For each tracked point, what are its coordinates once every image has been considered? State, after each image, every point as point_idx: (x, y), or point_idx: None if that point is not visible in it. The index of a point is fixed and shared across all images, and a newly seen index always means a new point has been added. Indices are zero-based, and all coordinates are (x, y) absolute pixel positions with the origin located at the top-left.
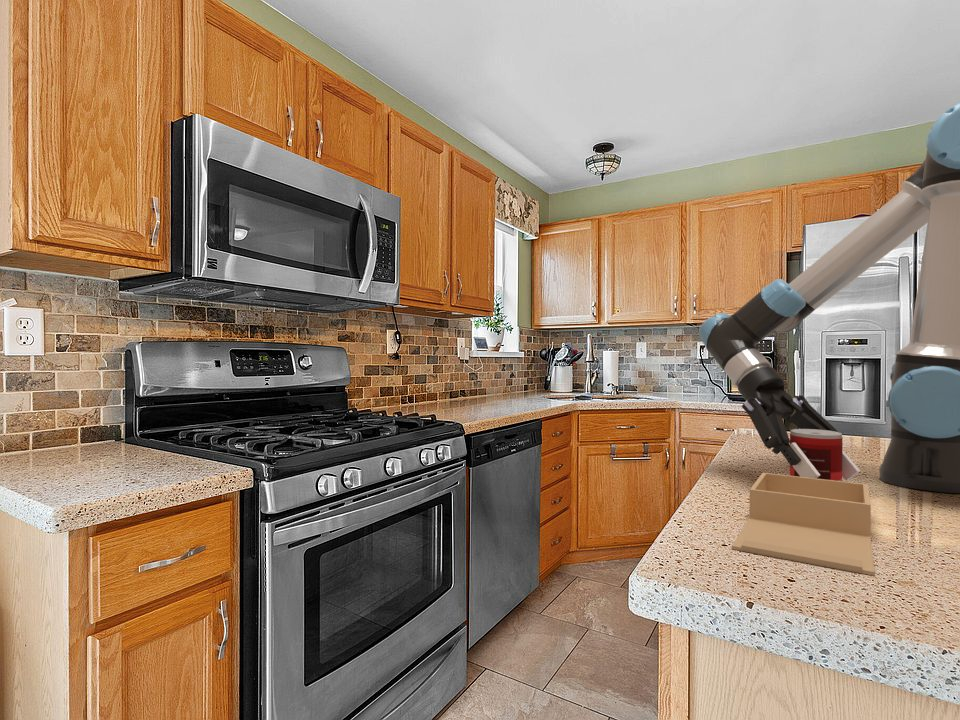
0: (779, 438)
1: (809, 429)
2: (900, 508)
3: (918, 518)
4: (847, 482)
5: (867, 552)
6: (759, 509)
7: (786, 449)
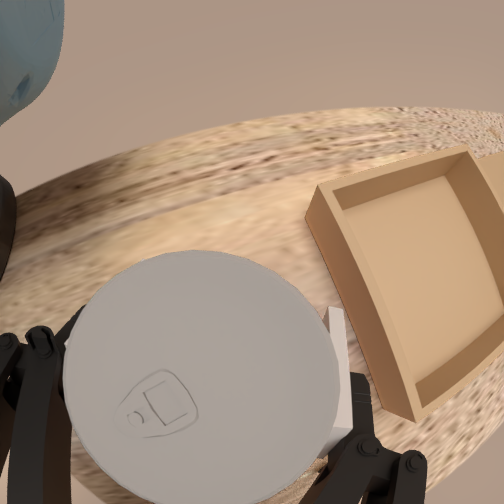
0: (401, 458)
1: (96, 452)
2: (189, 197)
3: (249, 156)
4: (345, 222)
5: (484, 161)
6: None
7: (371, 424)
